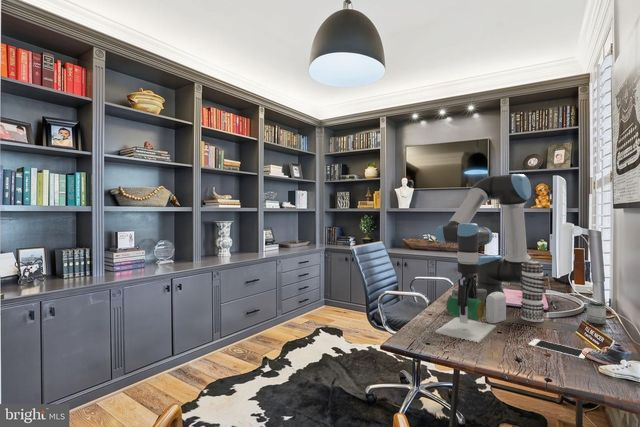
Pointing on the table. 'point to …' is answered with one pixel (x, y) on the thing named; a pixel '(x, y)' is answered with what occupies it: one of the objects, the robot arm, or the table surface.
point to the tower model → (532, 291)
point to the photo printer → (496, 307)
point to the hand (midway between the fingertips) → (467, 320)
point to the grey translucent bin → (480, 294)
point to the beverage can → (473, 306)
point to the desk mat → (466, 330)
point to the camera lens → (596, 312)
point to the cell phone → (557, 348)
